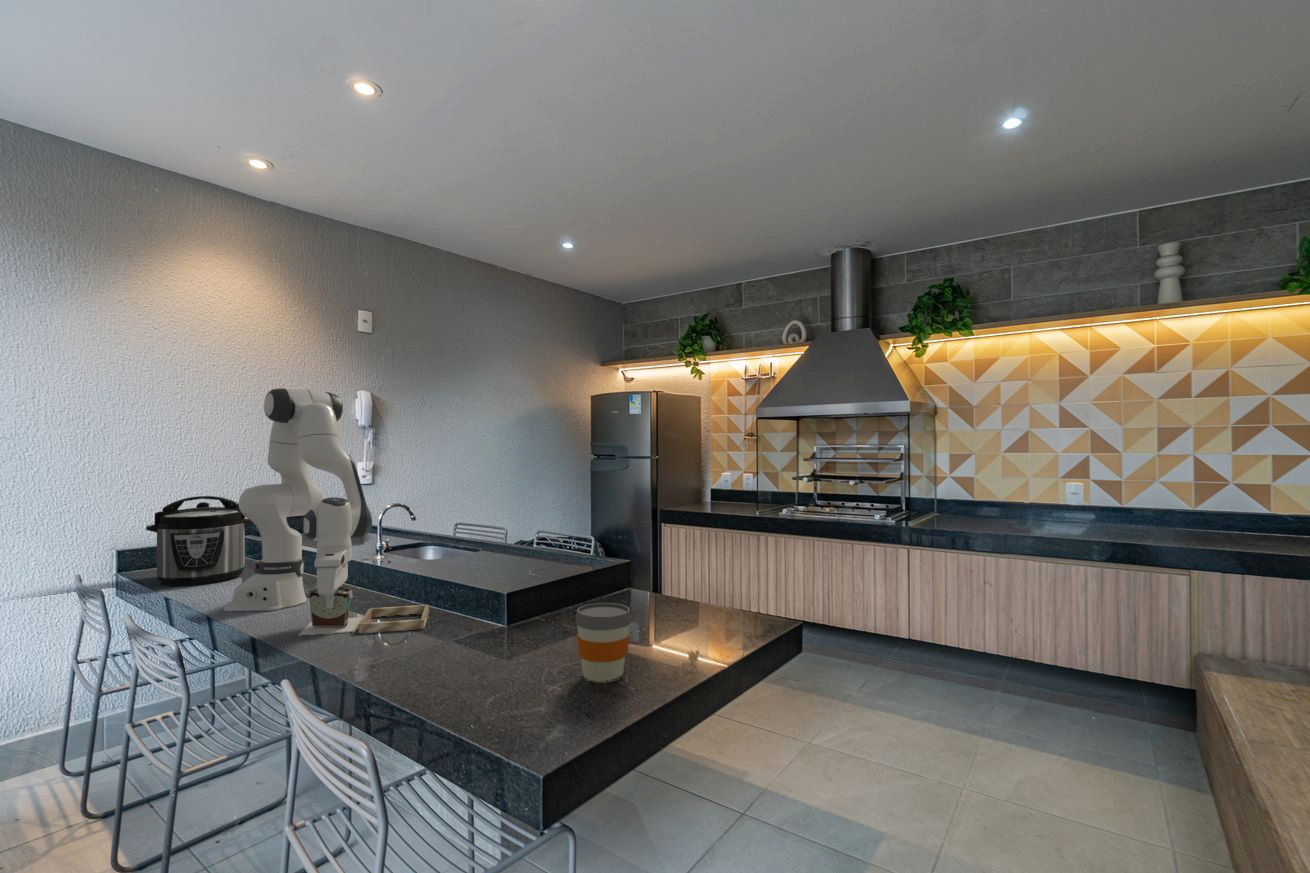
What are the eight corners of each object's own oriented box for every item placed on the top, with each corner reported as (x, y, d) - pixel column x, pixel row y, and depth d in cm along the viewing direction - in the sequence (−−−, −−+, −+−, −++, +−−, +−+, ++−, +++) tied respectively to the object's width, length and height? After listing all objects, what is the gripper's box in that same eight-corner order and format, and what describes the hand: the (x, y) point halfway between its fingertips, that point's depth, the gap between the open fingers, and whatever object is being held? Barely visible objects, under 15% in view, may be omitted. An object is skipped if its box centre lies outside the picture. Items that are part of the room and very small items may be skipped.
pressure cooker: (129, 588, 217) (130, 499, 217) (188, 571, 245) (189, 493, 245) (214, 588, 217) (216, 499, 218) (263, 571, 246) (264, 493, 246)
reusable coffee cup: (584, 690, 129) (584, 619, 129) (568, 670, 141) (569, 605, 141) (638, 681, 134) (639, 613, 134) (619, 663, 146) (619, 600, 146)
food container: (361, 620, 176) (361, 586, 176) (349, 627, 170) (350, 591, 170) (319, 619, 176) (320, 585, 176) (306, 626, 170) (307, 590, 170)
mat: (298, 636, 164) (298, 634, 164) (312, 621, 177) (312, 620, 177) (355, 632, 168) (355, 630, 168) (364, 618, 181) (364, 616, 181)
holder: (358, 633, 167) (358, 624, 167) (369, 616, 183) (369, 608, 183) (424, 628, 171) (424, 620, 171) (429, 612, 188) (429, 604, 188)
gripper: (330, 549, 182) (329, 595, 182) (312, 562, 162) (311, 614, 162) (353, 548, 184) (352, 594, 184) (338, 561, 164) (337, 612, 164)
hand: (333, 603), depth 173 cm, fingers closed on food container, 6 cm apart
